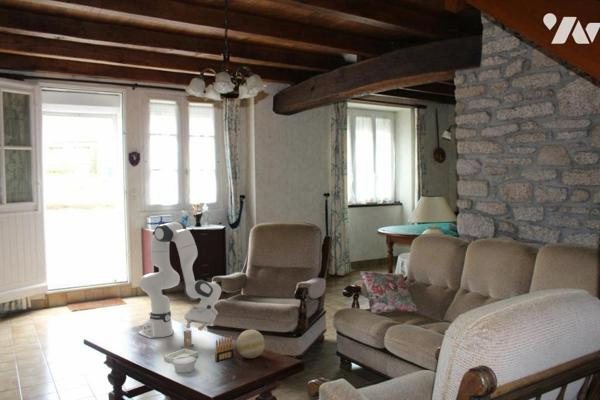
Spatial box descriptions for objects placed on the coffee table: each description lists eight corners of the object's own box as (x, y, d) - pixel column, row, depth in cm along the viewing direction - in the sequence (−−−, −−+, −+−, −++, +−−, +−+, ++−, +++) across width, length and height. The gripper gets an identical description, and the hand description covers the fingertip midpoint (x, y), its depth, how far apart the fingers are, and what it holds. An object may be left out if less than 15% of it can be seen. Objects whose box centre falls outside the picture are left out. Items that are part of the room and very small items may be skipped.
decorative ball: (251, 364, 265) (250, 335, 264) (231, 358, 274) (230, 330, 273) (270, 356, 276) (270, 329, 276) (250, 351, 286) (250, 324, 285)
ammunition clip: (216, 362, 268) (216, 340, 268) (214, 362, 270) (214, 339, 269) (234, 358, 275) (233, 336, 274) (232, 357, 276) (231, 335, 276)
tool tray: (163, 360, 273) (163, 356, 272) (183, 352, 285) (183, 348, 285) (177, 364, 267) (177, 359, 267) (197, 356, 279) (197, 351, 279)
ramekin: (188, 364, 267) (188, 354, 267) (200, 369, 259) (200, 359, 259) (169, 370, 259) (168, 359, 259) (180, 375, 251) (180, 365, 251)
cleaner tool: (181, 349, 290) (181, 332, 290) (190, 346, 296) (190, 329, 296) (185, 350, 289) (184, 332, 288) (194, 346, 295) (193, 329, 294)
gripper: (189, 303, 307) (177, 323, 299) (214, 307, 296) (203, 328, 288) (194, 309, 311) (183, 329, 303) (220, 313, 300) (209, 334, 292)
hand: (193, 328), depth 296 cm, fingers open, 8 cm apart
